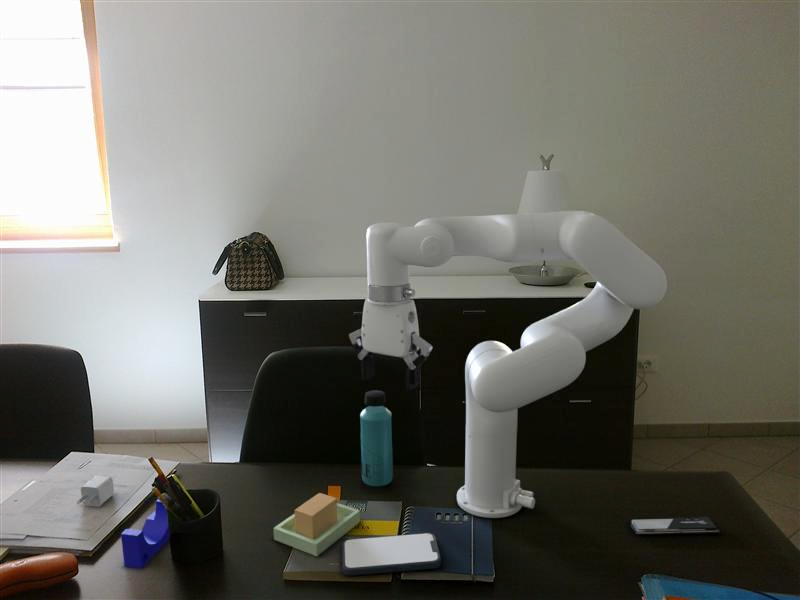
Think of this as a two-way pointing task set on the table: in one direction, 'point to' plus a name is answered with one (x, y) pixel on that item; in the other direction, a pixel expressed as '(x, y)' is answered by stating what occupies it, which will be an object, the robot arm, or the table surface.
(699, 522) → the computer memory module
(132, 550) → the blue tape dispenser
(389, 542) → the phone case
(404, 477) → the table surface
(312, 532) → the wooden block
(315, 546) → the shallow green tray
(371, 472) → the beverage bottle
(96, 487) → the usb wall charger
